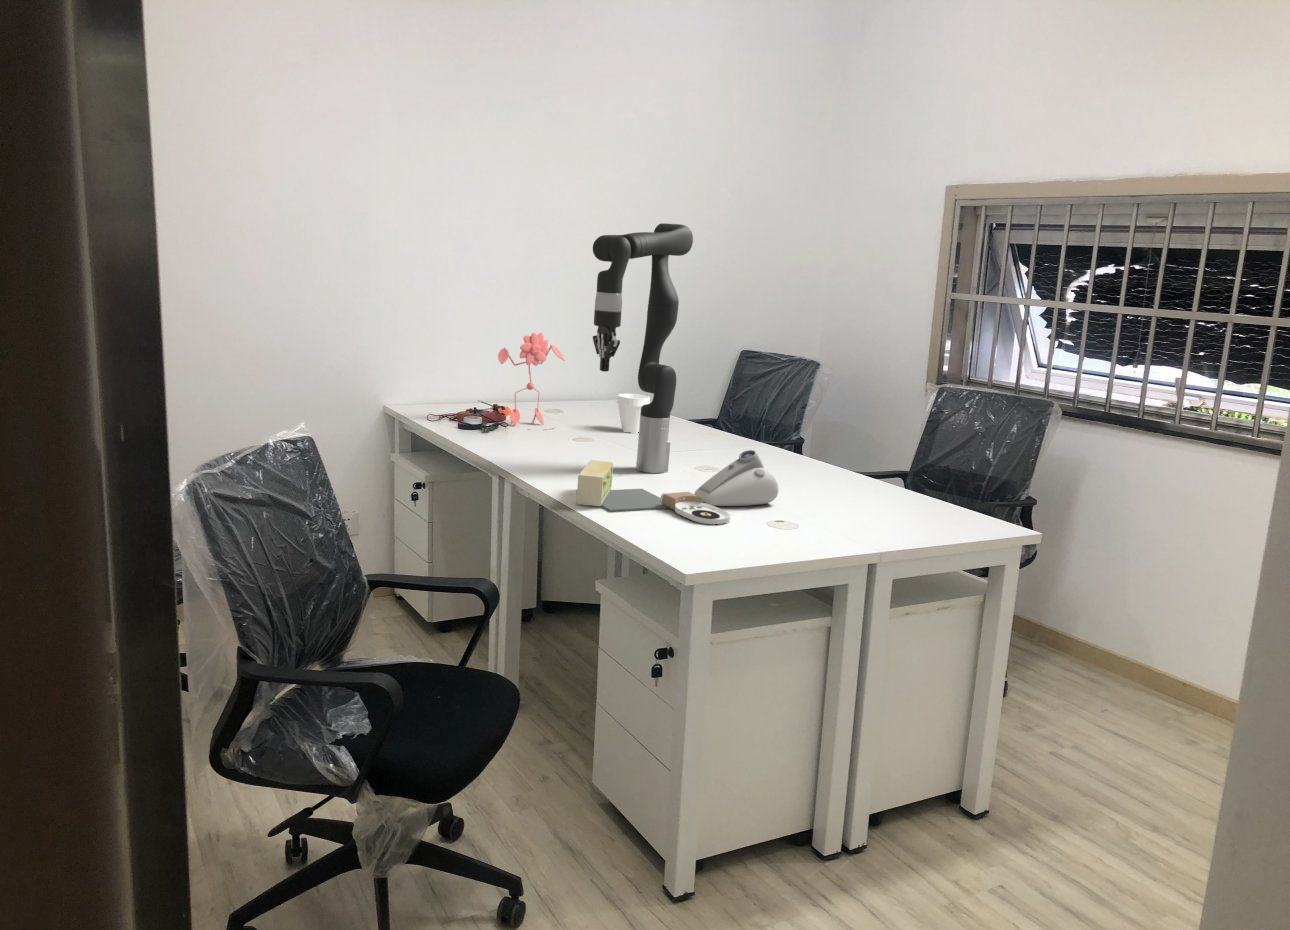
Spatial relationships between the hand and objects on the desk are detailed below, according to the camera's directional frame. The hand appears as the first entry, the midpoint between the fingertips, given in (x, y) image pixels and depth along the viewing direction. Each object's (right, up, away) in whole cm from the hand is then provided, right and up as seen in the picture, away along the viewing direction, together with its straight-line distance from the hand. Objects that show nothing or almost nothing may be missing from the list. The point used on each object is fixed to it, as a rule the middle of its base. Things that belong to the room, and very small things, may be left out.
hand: (604, 371), depth 281 cm
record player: (+25, -39, -20) cm, 51 cm away
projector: (+36, -37, -2) cm, 52 cm away
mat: (+7, -36, -11) cm, 38 cm away
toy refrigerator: (0, -29, -2) cm, 29 cm away
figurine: (-31, -12, +90) cm, 96 cm away
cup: (+6, -14, +97) cm, 98 cm away
